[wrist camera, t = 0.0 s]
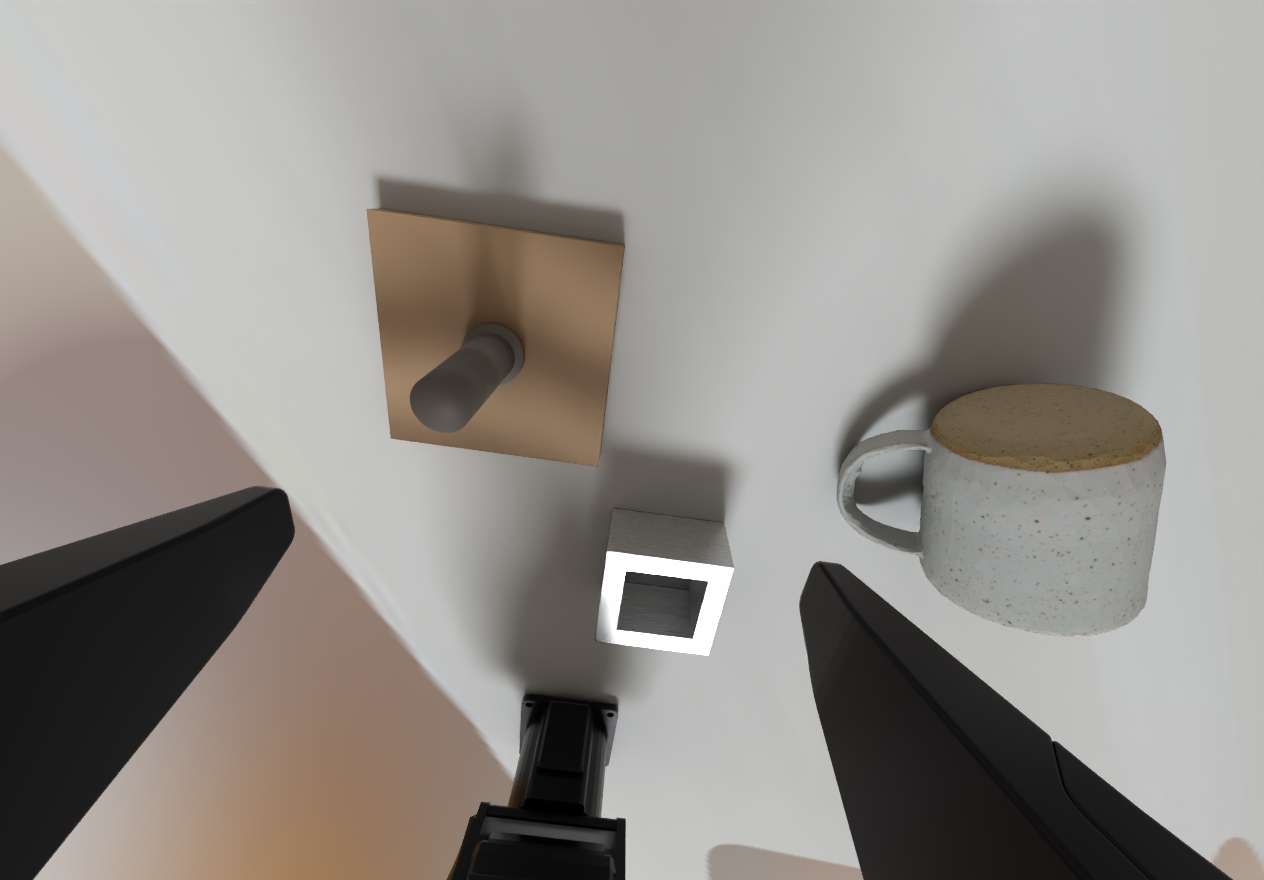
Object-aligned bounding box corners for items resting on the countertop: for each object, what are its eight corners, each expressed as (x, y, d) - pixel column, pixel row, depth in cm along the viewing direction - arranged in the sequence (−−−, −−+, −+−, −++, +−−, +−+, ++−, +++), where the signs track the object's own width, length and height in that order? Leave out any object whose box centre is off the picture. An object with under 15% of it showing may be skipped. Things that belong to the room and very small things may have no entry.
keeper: (599, 456, 24) (581, 546, 18) (400, 429, 24) (311, 511, 18) (624, 244, 20) (611, 265, 13) (379, 208, 19) (250, 212, 13)
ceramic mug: (1070, 358, 21) (1266, 436, 14) (1051, 509, 24) (1201, 630, 18) (821, 411, 23) (889, 503, 16) (836, 545, 26) (897, 667, 19)
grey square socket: (702, 605, 28) (708, 655, 25) (601, 592, 28) (594, 641, 25) (724, 523, 26) (733, 568, 23) (612, 508, 26) (607, 551, 22)
